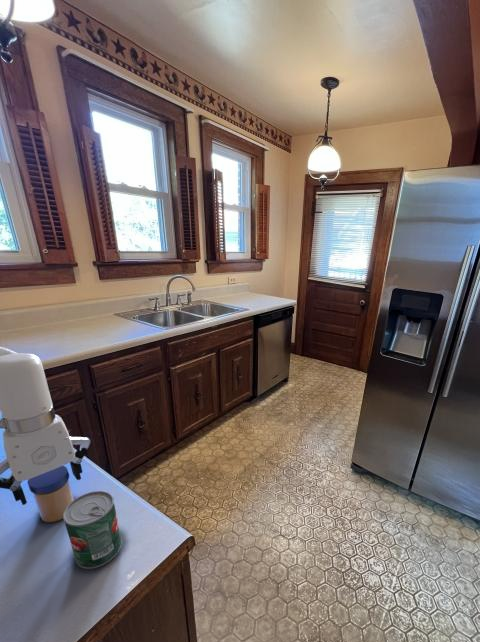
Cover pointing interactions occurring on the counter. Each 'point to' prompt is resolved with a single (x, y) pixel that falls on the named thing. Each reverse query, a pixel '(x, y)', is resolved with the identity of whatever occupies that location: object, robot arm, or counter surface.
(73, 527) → the canned tomato
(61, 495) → the jam jar
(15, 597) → the counter surface
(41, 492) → the jar lid
